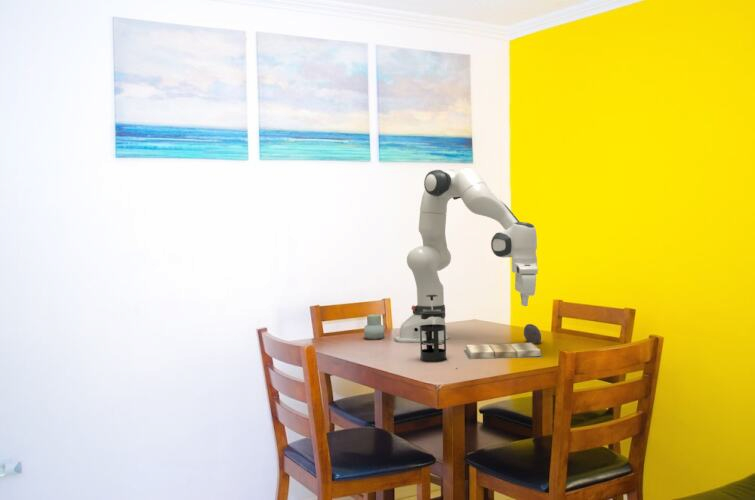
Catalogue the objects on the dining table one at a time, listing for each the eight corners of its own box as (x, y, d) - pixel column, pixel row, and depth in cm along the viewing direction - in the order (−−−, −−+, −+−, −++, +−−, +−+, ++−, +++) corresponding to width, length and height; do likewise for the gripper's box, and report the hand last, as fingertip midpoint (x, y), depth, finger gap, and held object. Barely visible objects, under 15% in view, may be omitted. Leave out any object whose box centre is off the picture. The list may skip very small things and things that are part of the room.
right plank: (531, 348, 259) (531, 342, 259) (540, 355, 243) (540, 350, 243) (509, 349, 259) (509, 343, 259) (517, 357, 243) (517, 351, 243)
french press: (450, 361, 243) (448, 295, 242) (424, 363, 241) (422, 296, 241) (441, 355, 255) (440, 292, 254) (416, 357, 253) (414, 293, 252)
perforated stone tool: (544, 346, 268) (544, 328, 267) (530, 347, 268) (530, 329, 267) (536, 340, 283) (535, 323, 282) (523, 340, 283) (522, 323, 282)
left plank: (471, 358, 244) (471, 352, 244) (466, 350, 260) (466, 344, 260) (494, 357, 244) (494, 352, 243) (487, 349, 259) (487, 344, 259)
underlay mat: (468, 361, 243) (468, 359, 243) (463, 352, 261) (463, 349, 261) (544, 359, 242) (544, 357, 242) (533, 350, 260) (533, 348, 260)
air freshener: (383, 340, 294) (383, 316, 294) (364, 340, 294) (363, 317, 294) (384, 336, 305) (383, 313, 304) (365, 336, 305) (364, 313, 305)
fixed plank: (495, 357, 243) (495, 352, 243) (488, 349, 259) (488, 344, 259) (516, 357, 243) (516, 351, 243) (508, 349, 259) (508, 343, 259)
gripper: (510, 265, 263) (511, 302, 263) (520, 269, 242) (520, 309, 243) (527, 265, 262) (527, 302, 263) (538, 269, 242) (539, 309, 243)
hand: (524, 305), depth 253 cm, fingers closed
